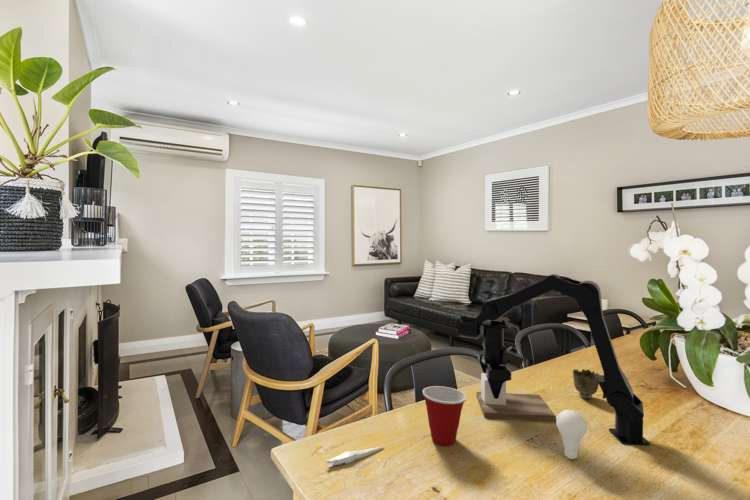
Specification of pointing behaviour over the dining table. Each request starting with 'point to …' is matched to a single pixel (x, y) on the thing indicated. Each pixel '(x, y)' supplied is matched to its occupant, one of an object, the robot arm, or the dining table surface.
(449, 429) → the plastic cup
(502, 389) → the off-white cube
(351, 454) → the white tapered spike
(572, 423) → the lightbulb
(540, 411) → the board
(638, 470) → the dining table surface
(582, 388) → the dark bronze hollow piece
